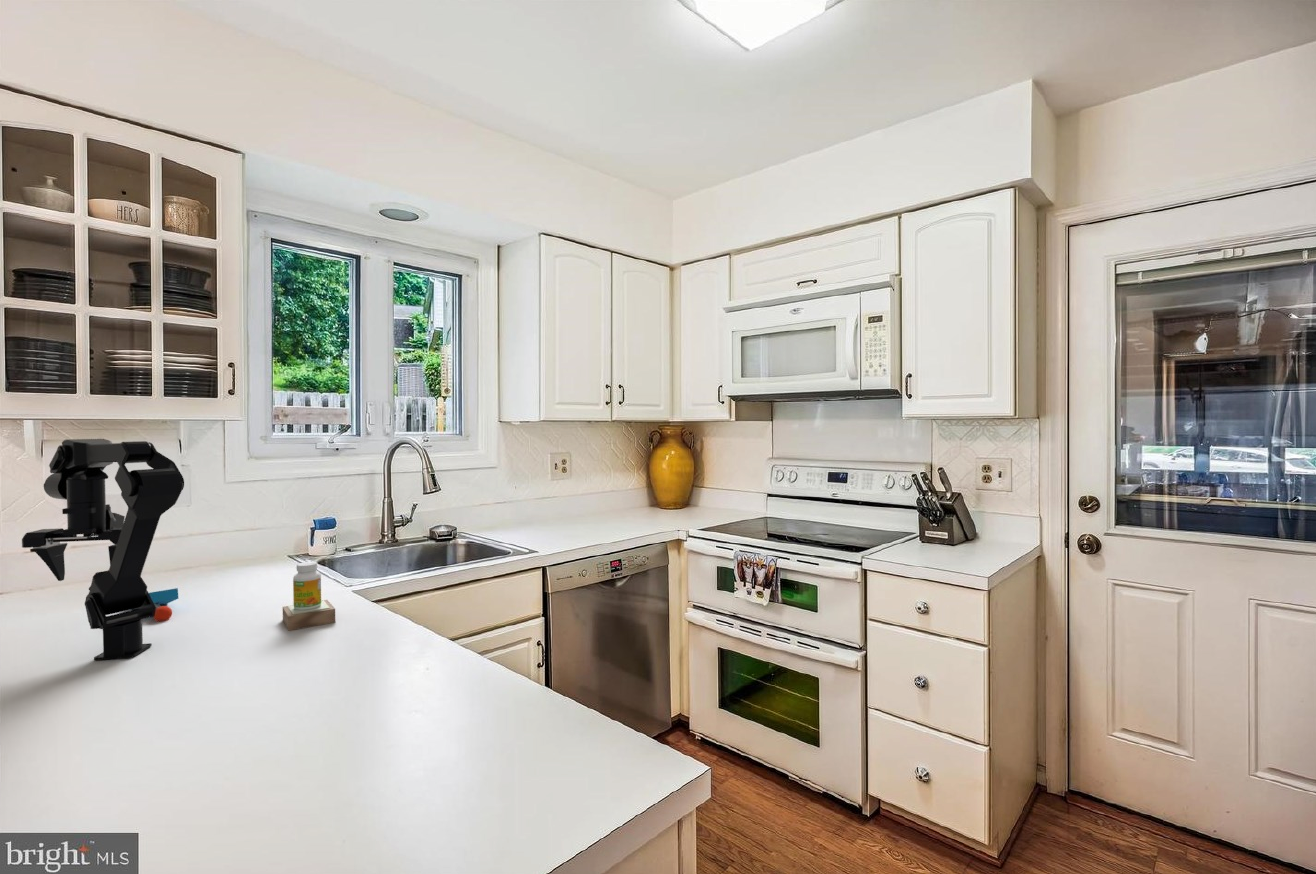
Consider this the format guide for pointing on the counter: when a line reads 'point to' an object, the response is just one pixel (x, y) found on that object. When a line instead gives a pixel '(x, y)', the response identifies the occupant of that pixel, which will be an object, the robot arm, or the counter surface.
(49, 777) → the counter surface
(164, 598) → the lever
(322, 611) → the base brick
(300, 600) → the supplement bottle
